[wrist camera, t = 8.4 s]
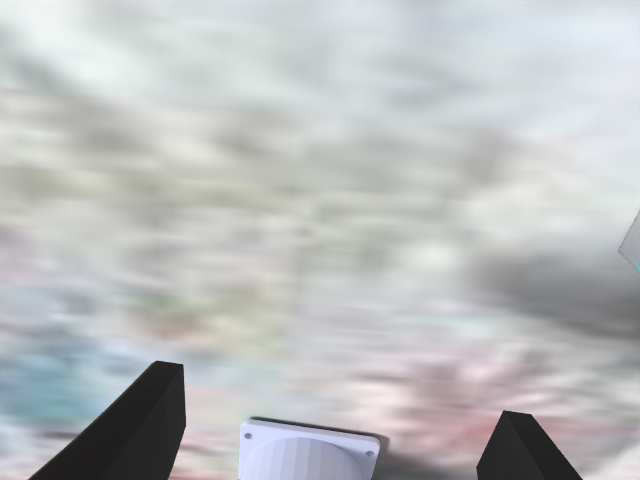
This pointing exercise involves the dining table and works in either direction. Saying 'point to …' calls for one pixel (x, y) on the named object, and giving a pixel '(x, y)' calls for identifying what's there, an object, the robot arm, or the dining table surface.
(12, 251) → the dining table surface
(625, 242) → the base brick
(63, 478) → the robot arm
